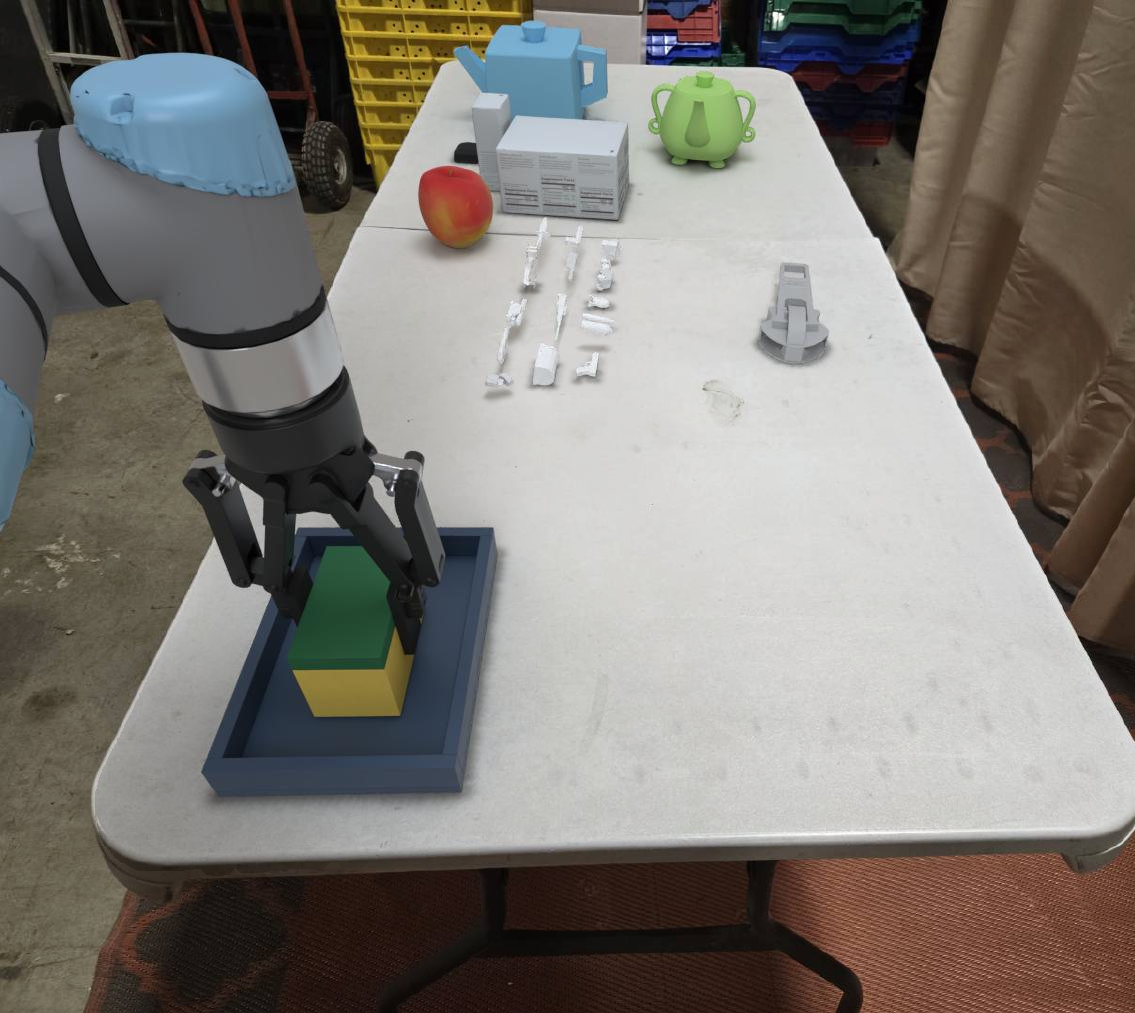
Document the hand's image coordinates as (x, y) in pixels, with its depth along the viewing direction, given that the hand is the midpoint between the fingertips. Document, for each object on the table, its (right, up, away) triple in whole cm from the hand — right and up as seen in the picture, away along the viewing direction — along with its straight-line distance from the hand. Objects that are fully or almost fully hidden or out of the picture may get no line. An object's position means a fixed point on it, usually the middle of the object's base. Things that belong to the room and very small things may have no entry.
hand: (366, 639), depth 61 cm
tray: (0, -2, +3) cm, 3 cm away
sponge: (0, -2, +2) cm, 2 cm away
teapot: (+26, +66, +76) cm, 104 cm away
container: (-2, +76, +85) cm, 114 cm away
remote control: (-5, +65, +72) cm, 97 cm away
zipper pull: (+37, +32, +41) cm, 63 cm away
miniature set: (+9, +33, +40) cm, 52 cm away
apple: (-6, +45, +52) cm, 69 cm away
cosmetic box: (-4, +58, +66) cm, 88 cm away
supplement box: (+7, +55, +63) cm, 84 cm away
